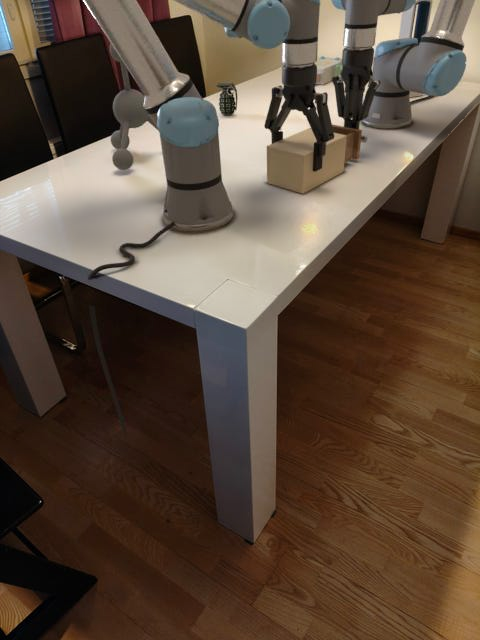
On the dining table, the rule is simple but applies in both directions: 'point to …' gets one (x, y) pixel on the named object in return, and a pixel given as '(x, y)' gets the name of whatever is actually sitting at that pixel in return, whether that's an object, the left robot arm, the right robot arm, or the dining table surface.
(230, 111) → the grenade
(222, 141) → the dining table surface
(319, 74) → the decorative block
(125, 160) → the molecular model
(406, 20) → the electronic device
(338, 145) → the tan cardboard box
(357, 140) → the drawer
